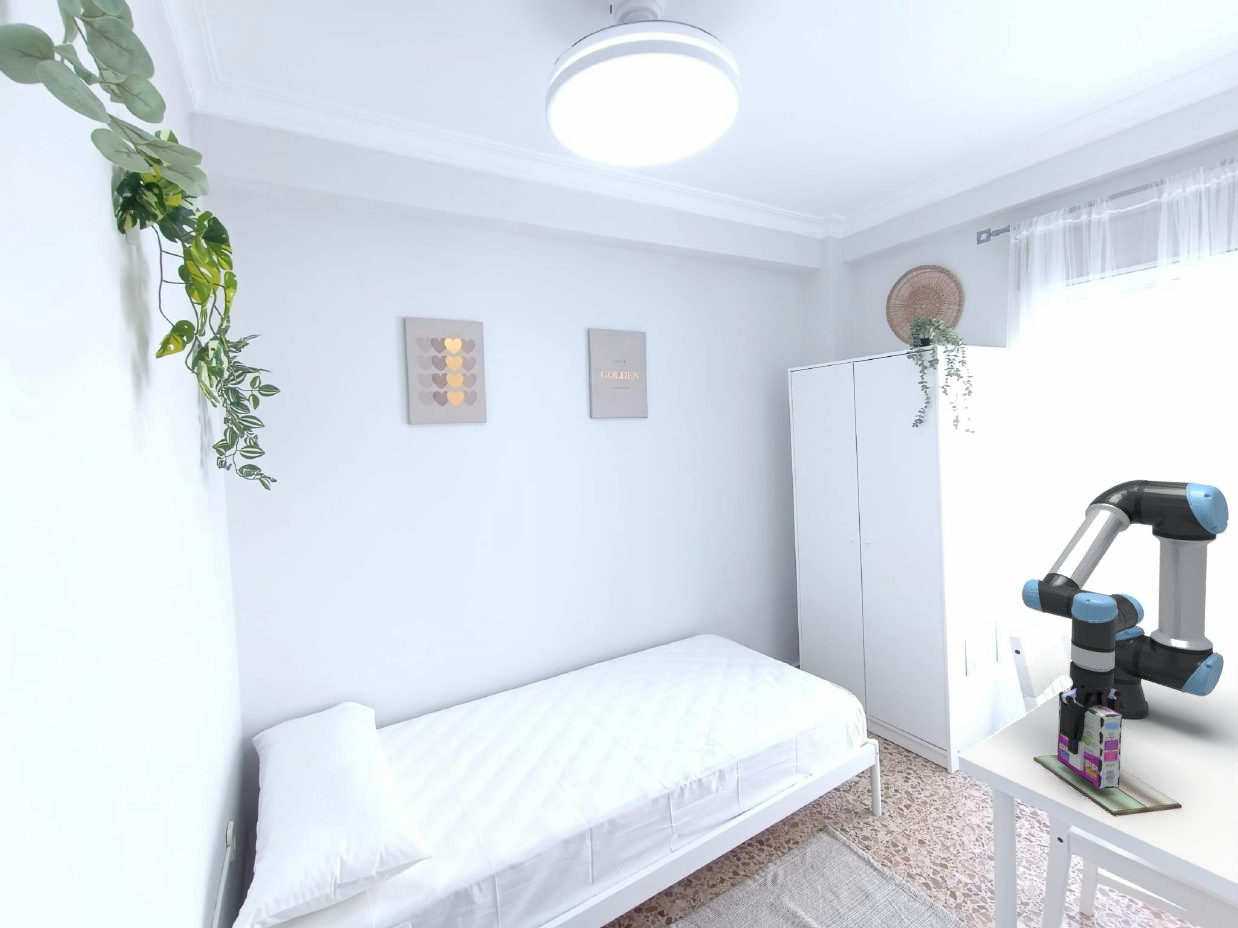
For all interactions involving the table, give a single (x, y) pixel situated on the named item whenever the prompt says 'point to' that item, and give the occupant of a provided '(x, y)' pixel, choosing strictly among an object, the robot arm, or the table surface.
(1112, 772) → the candy bar box
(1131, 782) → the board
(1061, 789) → the table surface
